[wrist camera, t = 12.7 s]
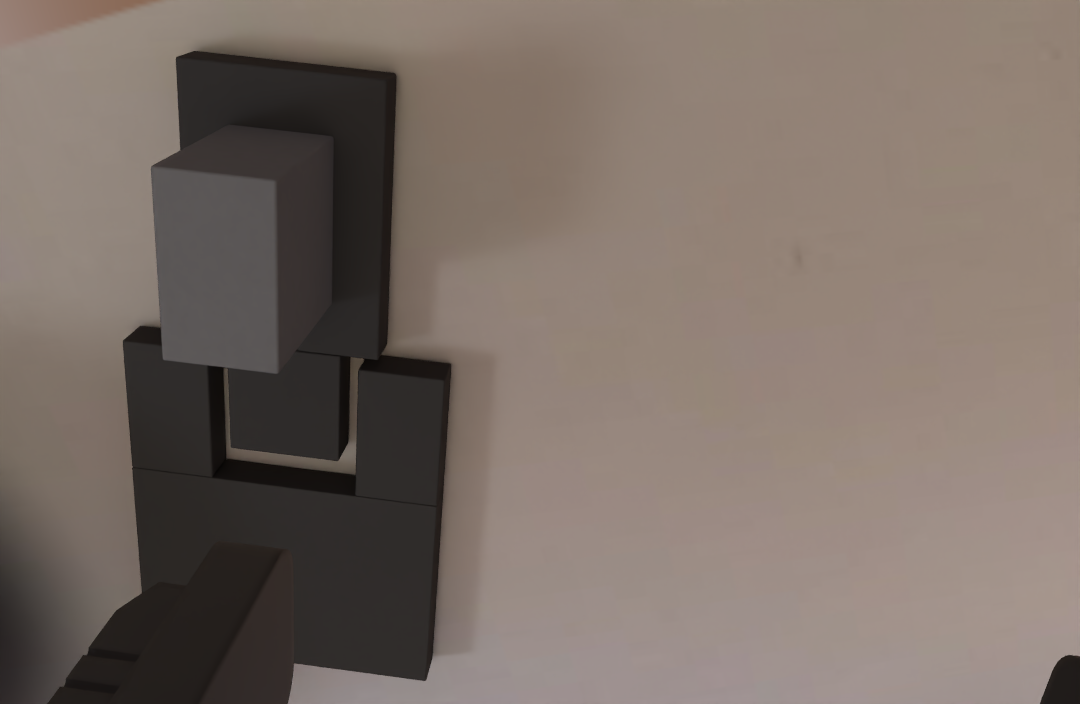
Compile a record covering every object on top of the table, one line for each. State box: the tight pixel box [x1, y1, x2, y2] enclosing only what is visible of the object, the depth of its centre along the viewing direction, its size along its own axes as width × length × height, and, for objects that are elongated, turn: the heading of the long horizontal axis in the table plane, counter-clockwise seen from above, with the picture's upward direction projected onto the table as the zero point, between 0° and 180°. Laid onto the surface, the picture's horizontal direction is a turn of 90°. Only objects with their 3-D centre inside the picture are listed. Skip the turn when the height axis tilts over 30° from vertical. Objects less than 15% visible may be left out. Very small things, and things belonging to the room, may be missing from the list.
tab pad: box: [151, 51, 396, 461], centre depth 34 cm, size 14×7×8 cm, turn 175°
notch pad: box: [123, 326, 451, 681], centre depth 41 cm, size 14×12×2 cm
